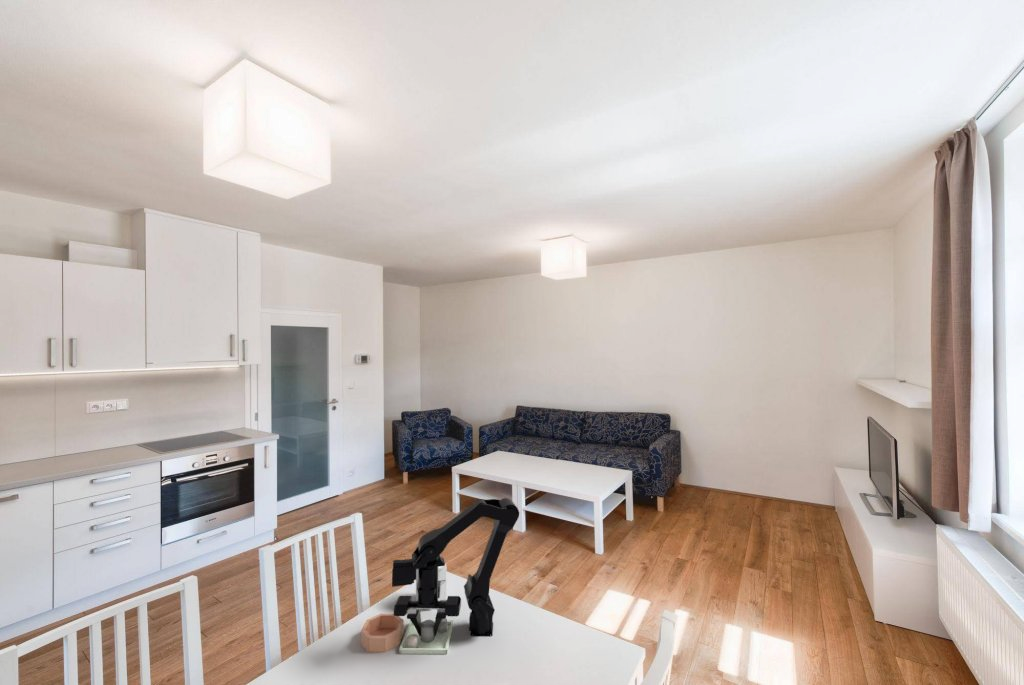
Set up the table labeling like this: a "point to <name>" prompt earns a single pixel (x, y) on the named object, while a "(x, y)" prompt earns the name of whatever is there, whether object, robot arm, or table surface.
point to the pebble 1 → (412, 641)
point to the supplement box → (440, 578)
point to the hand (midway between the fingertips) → (427, 635)
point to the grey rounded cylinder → (427, 631)
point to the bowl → (382, 632)
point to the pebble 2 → (442, 626)
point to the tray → (434, 647)
